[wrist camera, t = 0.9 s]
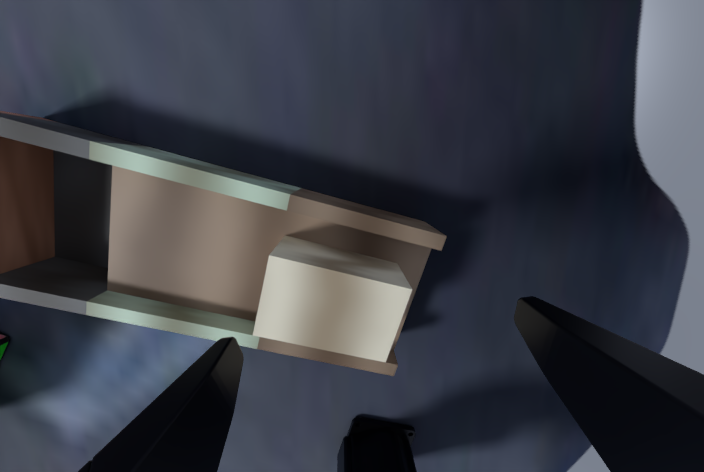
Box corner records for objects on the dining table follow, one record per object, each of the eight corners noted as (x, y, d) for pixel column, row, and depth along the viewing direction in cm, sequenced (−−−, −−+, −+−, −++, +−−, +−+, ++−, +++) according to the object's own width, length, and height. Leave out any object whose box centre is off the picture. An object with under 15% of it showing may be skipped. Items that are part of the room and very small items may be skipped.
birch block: (397, 263, 18) (412, 289, 14) (376, 323, 19) (385, 362, 16) (285, 235, 17) (269, 255, 13) (271, 300, 18) (252, 335, 15)
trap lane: (424, 221, 21) (450, 238, 16) (383, 336, 23) (395, 381, 18) (41, 117, 18) (-72, 99, 13) (45, 263, 20) (-48, 294, 15)
